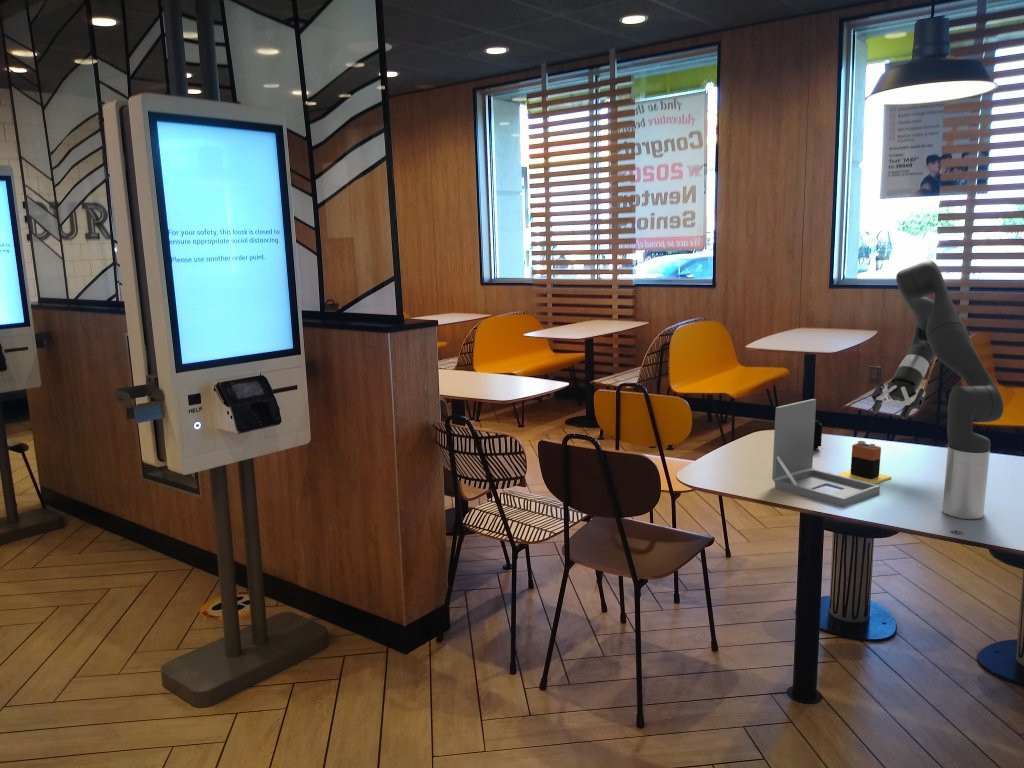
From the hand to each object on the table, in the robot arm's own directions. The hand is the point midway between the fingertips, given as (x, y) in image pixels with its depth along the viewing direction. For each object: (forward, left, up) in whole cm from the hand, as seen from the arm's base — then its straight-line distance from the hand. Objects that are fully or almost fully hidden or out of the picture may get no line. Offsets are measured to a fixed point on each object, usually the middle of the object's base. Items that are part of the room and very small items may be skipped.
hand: (888, 414), depth 238 cm
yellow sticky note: (+12, 0, -17) cm, 21 cm away
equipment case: (+31, 0, -17) cm, 35 cm away
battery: (+11, 0, -17) cm, 20 cm away
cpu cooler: (-4, -30, -17) cm, 35 cm away
